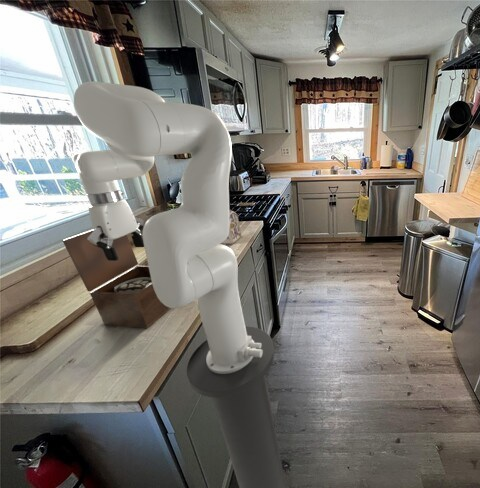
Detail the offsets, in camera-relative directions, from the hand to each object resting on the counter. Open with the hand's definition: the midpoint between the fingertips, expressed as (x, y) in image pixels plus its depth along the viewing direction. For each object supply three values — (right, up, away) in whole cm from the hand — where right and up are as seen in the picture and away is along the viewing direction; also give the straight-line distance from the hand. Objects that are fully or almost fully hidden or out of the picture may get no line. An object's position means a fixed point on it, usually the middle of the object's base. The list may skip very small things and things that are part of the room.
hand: (127, 253), depth 80 cm
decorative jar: (+6, +5, +65) cm, 66 cm away
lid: (-8, 0, +2) cm, 8 cm away
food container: (+1, -19, +8) cm, 20 cm away
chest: (0, -19, +8) cm, 21 cm away
